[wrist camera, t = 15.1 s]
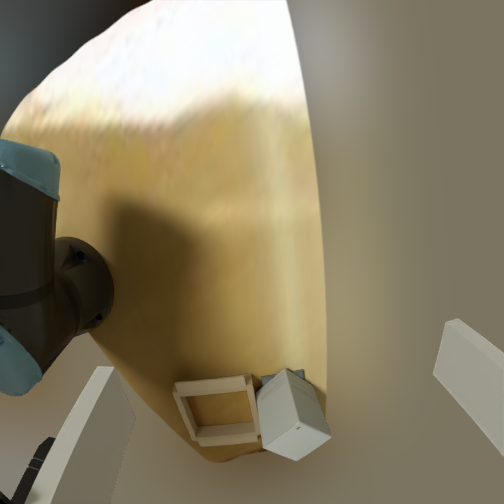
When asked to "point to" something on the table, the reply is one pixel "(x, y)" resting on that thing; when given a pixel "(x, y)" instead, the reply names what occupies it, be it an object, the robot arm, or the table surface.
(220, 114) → the table surface
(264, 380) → the coaster
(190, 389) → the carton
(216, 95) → the table surface
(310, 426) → the supplement box
